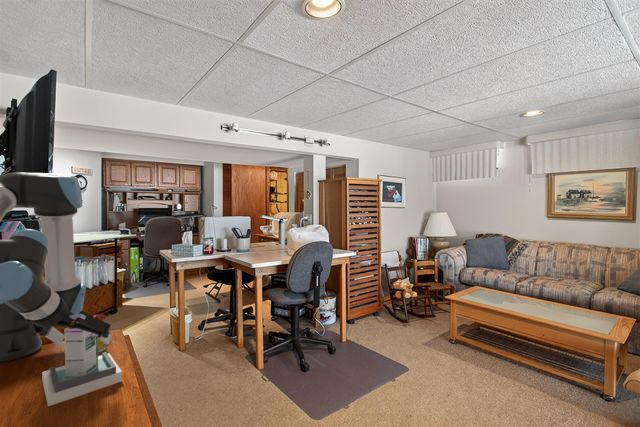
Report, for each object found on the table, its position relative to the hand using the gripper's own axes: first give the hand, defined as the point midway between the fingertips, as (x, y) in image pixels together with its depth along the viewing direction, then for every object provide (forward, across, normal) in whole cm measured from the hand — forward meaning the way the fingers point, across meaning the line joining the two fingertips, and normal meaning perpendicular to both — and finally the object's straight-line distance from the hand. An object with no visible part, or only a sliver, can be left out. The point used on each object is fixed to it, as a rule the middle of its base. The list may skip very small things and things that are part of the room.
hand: (85, 340), depth 95 cm
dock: (+9, -1, -9) cm, 13 cm away
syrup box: (+6, 0, -7) cm, 10 cm away
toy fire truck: (+27, -16, +9) cm, 33 cm away
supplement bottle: (+23, -9, +5) cm, 26 cm away
